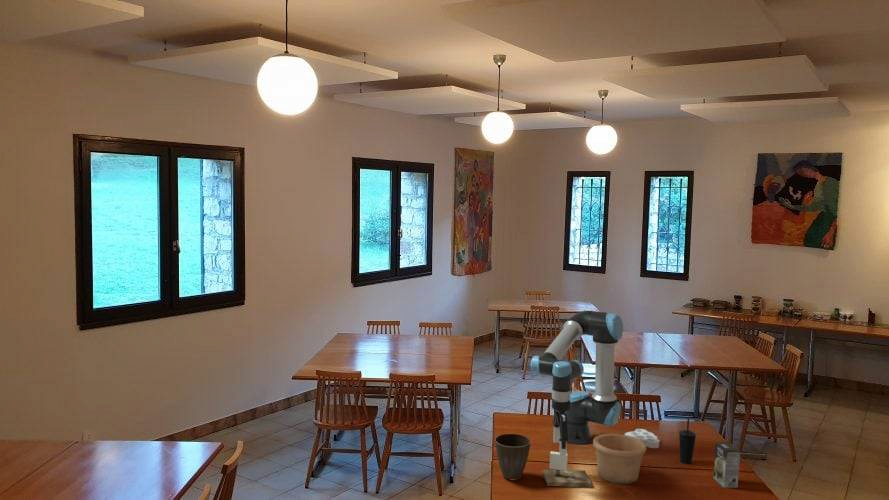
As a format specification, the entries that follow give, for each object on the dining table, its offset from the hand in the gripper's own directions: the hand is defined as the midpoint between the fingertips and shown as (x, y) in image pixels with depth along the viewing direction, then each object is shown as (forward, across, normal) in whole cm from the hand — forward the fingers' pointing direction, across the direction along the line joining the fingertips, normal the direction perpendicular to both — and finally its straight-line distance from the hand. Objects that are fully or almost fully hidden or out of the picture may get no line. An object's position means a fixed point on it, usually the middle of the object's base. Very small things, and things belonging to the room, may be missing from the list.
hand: (559, 448), depth 271 cm
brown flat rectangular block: (+13, -1, -3) cm, 14 cm away
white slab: (+11, -1, -1) cm, 11 cm away
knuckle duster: (+16, +45, -50) cm, 69 cm away
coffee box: (+15, -1, -70) cm, 72 cm away
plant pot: (+13, +2, +20) cm, 24 cm away
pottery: (+14, +5, -26) cm, 30 cm away
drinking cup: (+15, +21, -62) cm, 67 cm away
